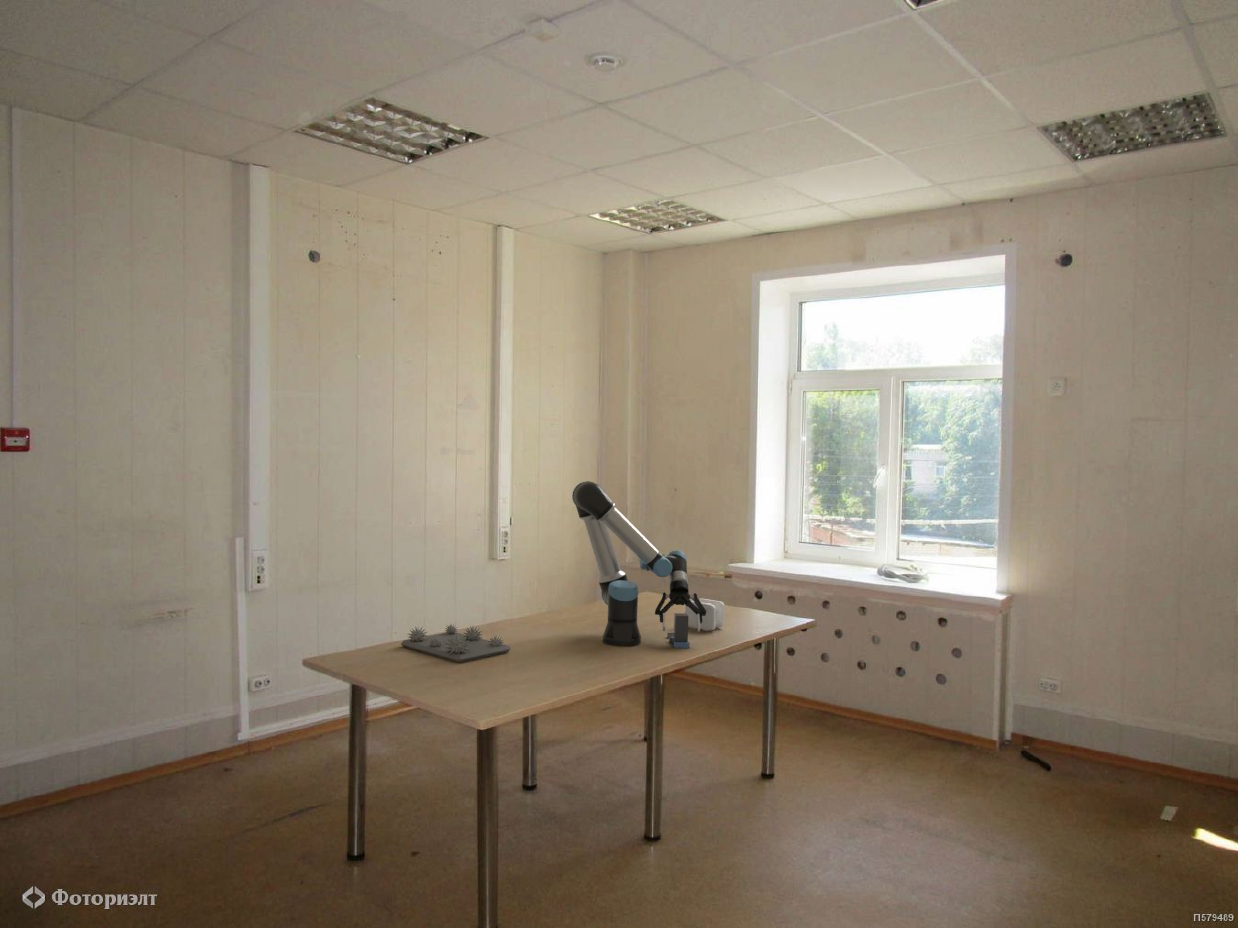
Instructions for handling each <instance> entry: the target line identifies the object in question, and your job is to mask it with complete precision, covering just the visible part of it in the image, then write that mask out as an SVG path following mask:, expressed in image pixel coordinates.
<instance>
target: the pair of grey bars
mask: <svg viewBox="0 0 1238 928" xmlns="http://www.w3.org/2000/svg"><path fill="white" fill-rule="evenodd" d="M672 637H674V632H671V631H669V632H667V637H666V638H668V642H669V643H672Z"/></svg>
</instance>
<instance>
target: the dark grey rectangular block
mask: <svg viewBox="0 0 1238 928" xmlns="http://www.w3.org/2000/svg"><path fill="white" fill-rule="evenodd" d="M673 618H674V619H673V620H674V621H673V633H674V642H689V636H688V635H689V626H688V614H685V613H674V616H673Z"/></svg>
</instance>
